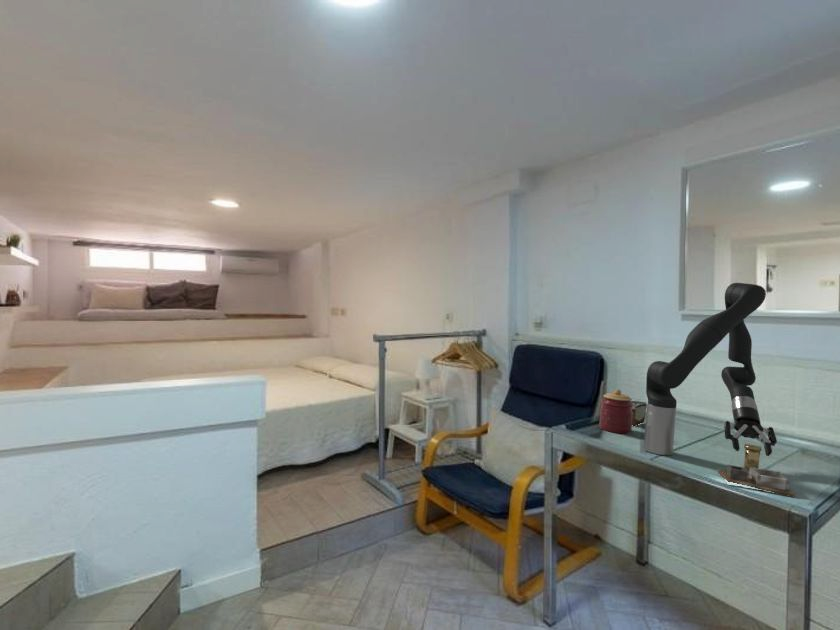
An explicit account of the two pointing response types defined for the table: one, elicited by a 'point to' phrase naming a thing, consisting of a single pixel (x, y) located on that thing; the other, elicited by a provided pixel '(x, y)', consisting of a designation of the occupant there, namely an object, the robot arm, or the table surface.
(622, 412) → the canister
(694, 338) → the robot arm
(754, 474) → the collar base
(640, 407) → the food container
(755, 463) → the gold round-topped cylinder
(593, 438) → the table surface
